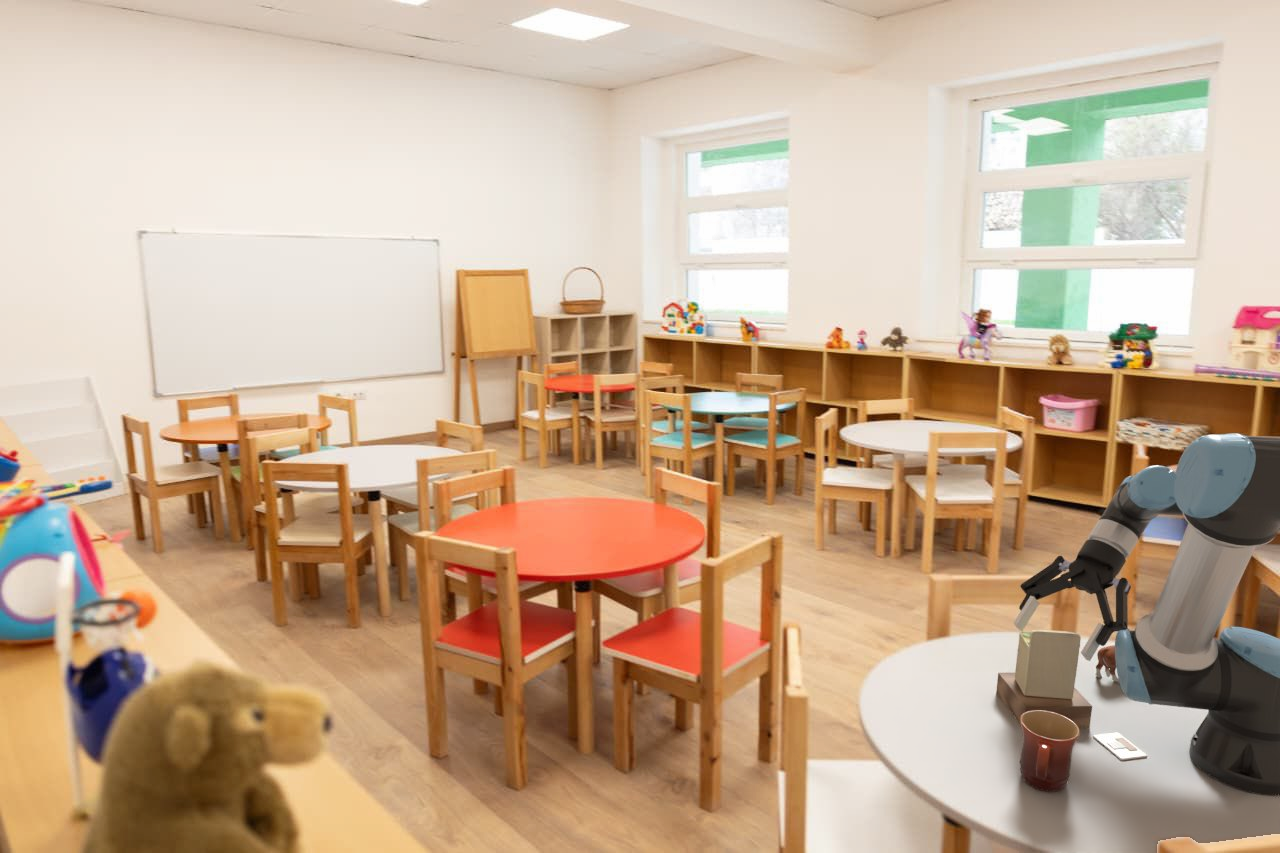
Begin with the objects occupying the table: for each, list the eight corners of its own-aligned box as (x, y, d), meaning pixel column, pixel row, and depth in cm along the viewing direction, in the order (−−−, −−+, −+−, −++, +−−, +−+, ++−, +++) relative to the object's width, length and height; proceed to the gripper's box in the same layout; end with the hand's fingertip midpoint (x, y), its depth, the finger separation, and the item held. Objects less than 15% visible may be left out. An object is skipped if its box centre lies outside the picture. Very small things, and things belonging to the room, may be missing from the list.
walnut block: (1089, 730, 154) (1092, 706, 153) (1023, 731, 154) (1025, 706, 153) (1057, 695, 166) (1060, 672, 165) (996, 695, 166) (998, 672, 165)
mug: (1018, 758, 145) (1024, 704, 143) (1075, 774, 141) (1082, 719, 139) (1006, 797, 135) (1012, 740, 133) (1067, 816, 131) (1075, 757, 129)
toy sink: (1060, 680, 162) (1067, 616, 159) (1073, 700, 155) (1081, 634, 152) (1013, 677, 163) (1019, 613, 160) (1024, 697, 156) (1031, 631, 153)
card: (1147, 757, 145) (1147, 754, 145) (1121, 760, 145) (1121, 758, 144) (1117, 733, 152) (1117, 731, 152) (1092, 736, 151) (1093, 734, 151)
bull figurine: (1159, 677, 171) (1165, 640, 169) (1102, 685, 168) (1107, 648, 166) (1142, 666, 175) (1147, 630, 173) (1086, 674, 172) (1091, 638, 170)
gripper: (1181, 581, 153) (1123, 680, 149) (1053, 539, 174) (999, 625, 170) (1168, 560, 149) (1109, 660, 145) (1039, 519, 170) (984, 606, 166)
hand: (1050, 641), depth 157 cm, fingers open, 13 cm apart
